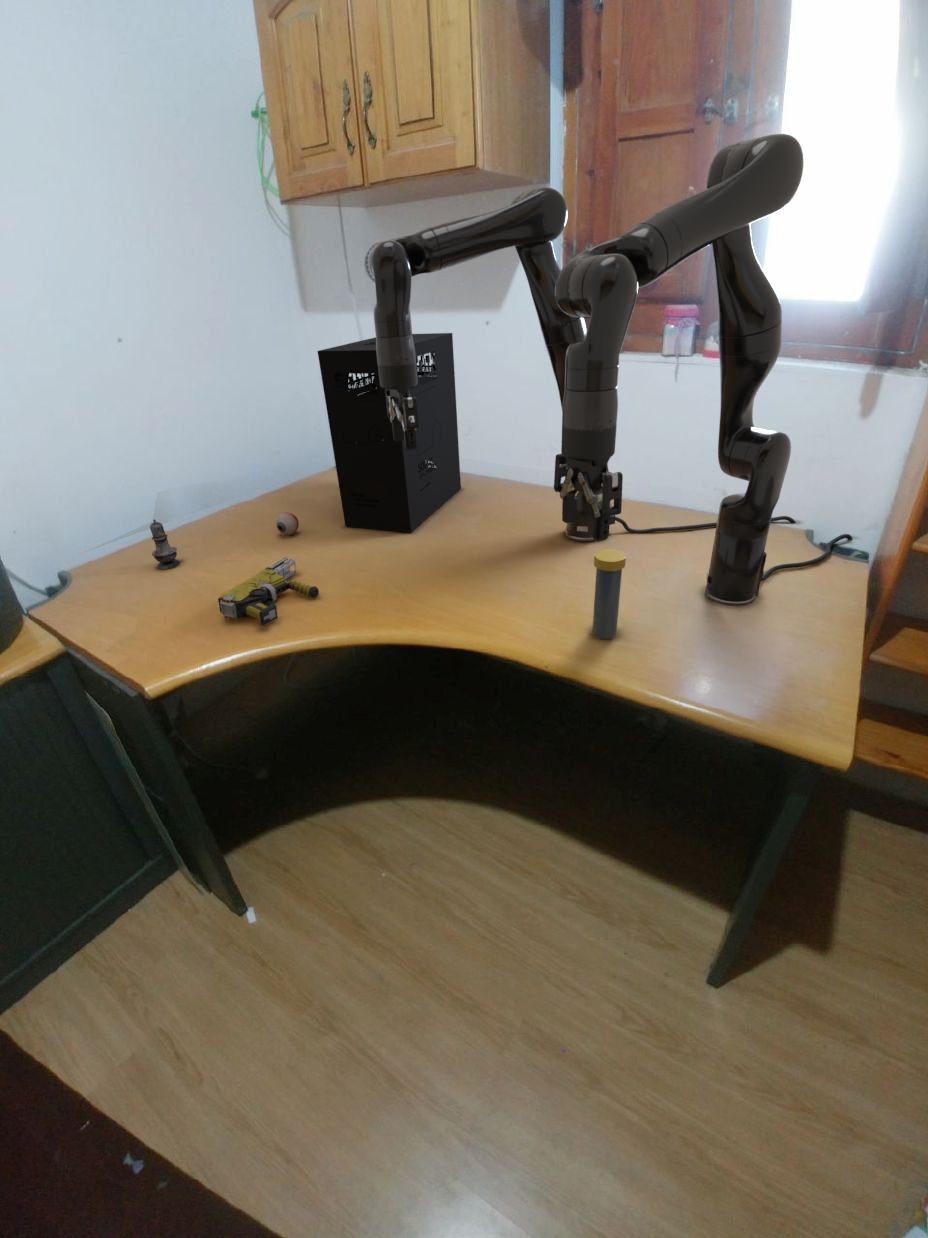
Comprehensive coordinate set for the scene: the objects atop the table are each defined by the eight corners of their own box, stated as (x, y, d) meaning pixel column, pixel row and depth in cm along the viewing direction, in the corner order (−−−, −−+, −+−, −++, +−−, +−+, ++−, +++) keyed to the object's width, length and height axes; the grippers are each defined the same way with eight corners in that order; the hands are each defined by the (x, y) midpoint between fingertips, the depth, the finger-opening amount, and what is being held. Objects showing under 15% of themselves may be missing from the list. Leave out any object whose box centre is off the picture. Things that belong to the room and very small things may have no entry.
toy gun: (338, 566, 137) (282, 554, 141) (276, 612, 117) (212, 597, 121) (339, 585, 140) (283, 573, 144) (278, 633, 120) (216, 618, 124)
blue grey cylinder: (594, 639, 111) (600, 563, 103) (590, 627, 115) (594, 553, 107) (618, 638, 111) (625, 562, 103) (613, 626, 115) (619, 551, 107)
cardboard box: (403, 484, 198) (387, 334, 176) (460, 488, 192) (452, 332, 169) (345, 526, 168) (317, 350, 145) (411, 532, 161) (392, 349, 139)
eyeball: (273, 537, 164) (268, 516, 161) (287, 528, 169) (282, 508, 166) (291, 539, 161) (286, 518, 158) (305, 530, 166) (301, 510, 163)
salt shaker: (171, 569, 148) (156, 523, 142) (150, 569, 149) (135, 523, 143) (185, 560, 153) (172, 515, 147) (165, 559, 154) (151, 514, 148)
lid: (597, 572, 104) (597, 562, 103) (591, 559, 108) (591, 549, 107) (628, 570, 104) (629, 560, 103) (621, 557, 108) (621, 548, 107)
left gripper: (426, 362, 113) (433, 449, 121) (404, 355, 125) (411, 435, 133) (387, 367, 111) (397, 455, 119) (369, 359, 123) (378, 440, 131)
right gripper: (643, 427, 79) (633, 541, 88) (583, 409, 91) (579, 511, 99) (595, 435, 77) (589, 551, 85) (540, 416, 89) (539, 520, 97)
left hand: (404, 444), depth 126 cm, fingers open, 8 cm apart
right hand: (584, 530), depth 92 cm, fingers open, 8 cm apart
